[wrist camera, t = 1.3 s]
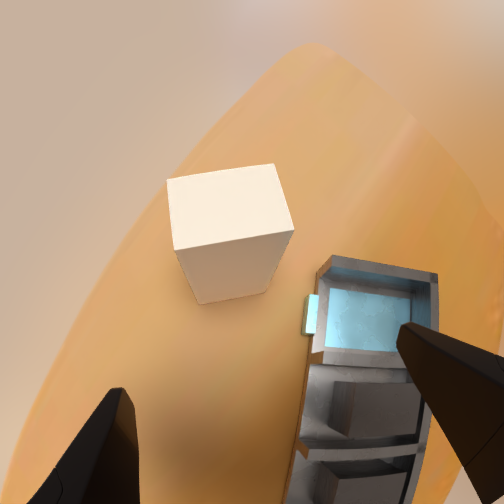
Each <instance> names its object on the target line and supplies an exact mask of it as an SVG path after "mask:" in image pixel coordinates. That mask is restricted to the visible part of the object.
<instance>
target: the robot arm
mask: <svg viewBox="0 0 504 504" xmlns="http://www.w3.org/2000/svg"><path fill="white" fill-rule="evenodd" d="M396 348H397V350H398V352H399V354H400V356H401V358H402V360H403V362H404V364H405V366H406V368H407V370H408V372H409V374H410V377H411V378H412V380H413V382H414V384H415V386H416V387H417V389H418V391H419V392H420V394H421V395H422V397H423V399H424V400H425V402H426V404H427V405H428V407H429V408H430V410H431V412H432V413H433V415H434V417H435V418H436V420H437V422H438V423H439V425H440V427H441V429H442V430H443V432H444V434H445V435H446V437H447V439H448V441H449V442H450V444H451V446H452V448H453V449H454V451H455V453H456V455H457V457H458V458H459V460H460V462H461V464H462V466H463V467H464V470H465V471H466V473H467V475H468V477H469V479H470V481H471V483H472V485H473V487H474V489H475V490H476V492H477V494H478V496H479V498H480V500H481V502H482V504H492V503H493V502H494V501H496V500H497V499H499V498H500V497H501V496H503V495H504V357H501V356H499V355H496V354H495V355H494V354H493V353H491V352H488V351H486V350H483V349H480V348H478V347H475V346H473V345H470V344H468V343H465V342H462V341H460V340H457V339H455V338H452V337H450V336H447V335H444V334H442V333H439V332H437V331H434V330H432V329H429V328H427V327H424V326H421V325H419V324H416V323H414V322H407V323H405V324H402V325H401V326H400V328H399V332H398V336H397V340H396ZM55 467H56V468H54V469H53V470H52V471H51V473H50V474H49V476H48V477H47V479H46V480H45V481H44V483H43V484H42V486H41V487H40V488H39V489H38V491H37V492H36V493H35V494H34V496H33V497H32V498H31V499H30V500H29V501H28V503H27V504H140V491H139V448H138V439H137V429H136V418H135V408H134V405H133V402H132V401H131V399H130V397H129V396H128V394H127V392H126V390H125V389H124V388H122V387H120V388H111V389H110V390H109V391H108V393H107V394H106V395H105V397H104V398H103V399H102V401H101V402H100V404H99V405H98V406H97V408H96V409H95V410H94V412H93V413H92V415H91V416H90V417H89V419H88V420H87V422H86V423H85V424H84V426H83V427H82V429H81V430H80V431H79V433H78V434H77V436H76V437H75V438H74V440H73V441H72V443H71V444H70V446H69V447H68V448H67V450H66V451H65V453H64V454H63V456H62V457H61V459H60V460H59V461H58V463H57V464H56V466H55Z"/></svg>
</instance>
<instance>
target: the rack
mask: <svg viewBox="0 0 504 504" xmlns="http://www.w3.org/2000/svg"><path fill="white" fill-rule="evenodd" d="M407 322H414V323H416V324H419V325H421V326H424V327H427V328H429V329H432V330H434V331H437V332H439V293H438V274H436V273H430V272H425V271H420V270H414V269H409V268H403V267H398V266H392V265H387V264H381V263H376V262H370V261H365V260H359V259H354V258H348V257H342V256H337V255H332V256H331V257H330V258H329V259H328V260H327V261H326V262H325V264H324V265H323V266H322V267H321V268H320V269H319V270H318V271H317V273H316V283H315V294H314V295H312V294H309V295H308V296H307V297H306V298H305V305H304V314H303V323H302V331H301V334H302V335H310V341H309V349H308V357H307V365H306V372H305V379H304V386H303V393H302V400H301V406H300V412H299V418H298V424H297V430H296V436H295V442H294V447H293V452H292V458H291V463H290V468H289V473H288V478H287V483H286V487H285V492H284V496H283V501H282V504H411V503H412V500H413V497H414V493H415V490H416V486H417V483H418V479H419V475H420V471H421V467H422V463H423V458H424V454H425V449H426V444H427V439H428V434H429V428H430V422H431V416H432V412H431V410H430V408H429V407H428V405H427V404H426V402H425V400H424V399H423V397H422V395H421V394H420V392H419V391H418V389H417V387H416V386H415V384H414V382H413V380H412V378H411V377H410V374H409V372H408V370H407V368H406V366H405V364H404V362H403V360H402V358H401V356H400V354H399V352H398V350H397V348H396V340H397V336H398V332H399V328H400V326H401V325H402V324H405V323H407Z"/></svg>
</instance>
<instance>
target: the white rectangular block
mask: <svg viewBox="0 0 504 504" xmlns="http://www.w3.org/2000/svg"><path fill="white" fill-rule="evenodd" d="M167 189H168V200H169V210H170V219H171V228H172V236H173V244H174V251H175V253H176V256H177V258H178V260H179V262H180V265H181V267H182V269H183V271H184V274H185V276H186V278H187V280H188V282H189V285H190V287H191V289H192V291H193V293H194V295H195V298H196V300H197V302H198V304H199V305H202V304H208V303H213V302H219V301H224V300H229V299H235V298H240V297H245V296H250V295H255V294H260V293H265V291H266V289H267V287H268V285H269V283H270V281H271V279H272V276H273V274H274V272H275V270H276V268H277V266H278V264H279V262H280V260H281V257H282V255H283V253H284V251H285V249H286V247H287V245H288V243H289V240H290V238H291V236H292V234H293V232H294V226H293V223H292V220H291V216H290V213H289V210H288V207H287V203H286V200H285V197H284V194H283V190H282V187H281V184H280V181H279V178H278V175H277V172H276V168H275V165H274V163H273V164H265V165H257V166H249V167H241V168H234V169H227V170H220V171H214V172H207V173H201V174H195V175H189V176H183V177H178V178H172V179H167Z"/></svg>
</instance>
